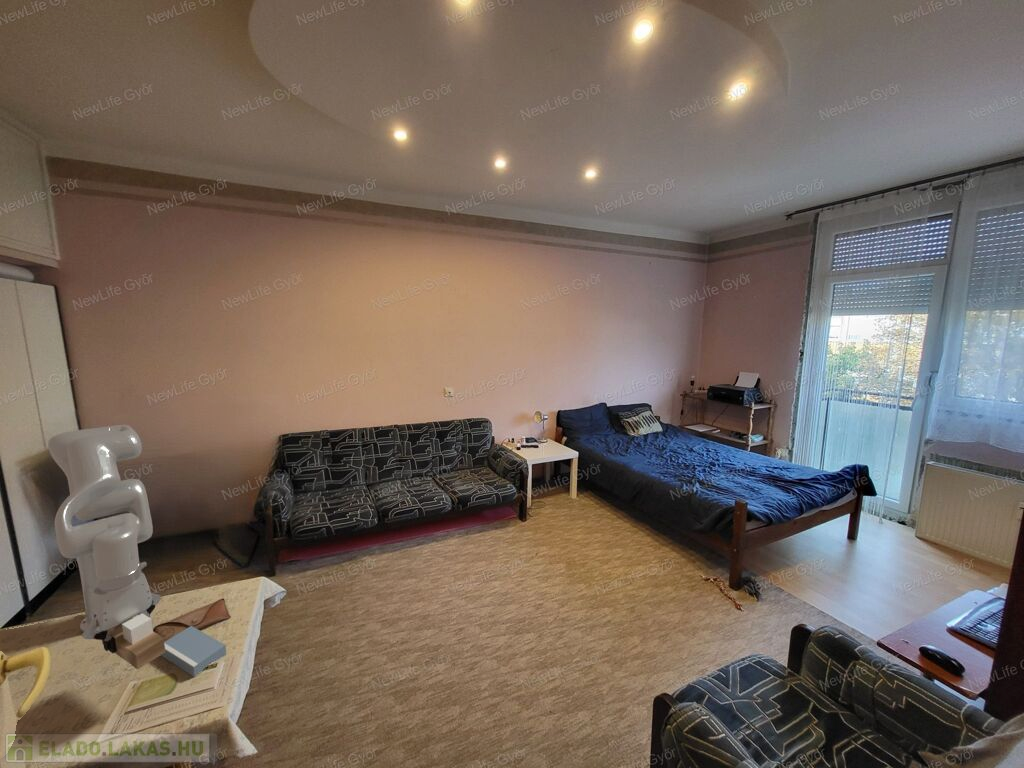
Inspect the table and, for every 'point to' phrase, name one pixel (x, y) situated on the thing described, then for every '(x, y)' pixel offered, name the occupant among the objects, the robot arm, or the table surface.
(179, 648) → the block
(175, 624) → the sunglasses case
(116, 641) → the curved wooden block
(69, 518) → the robot arm
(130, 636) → the small white cube
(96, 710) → the table surface
